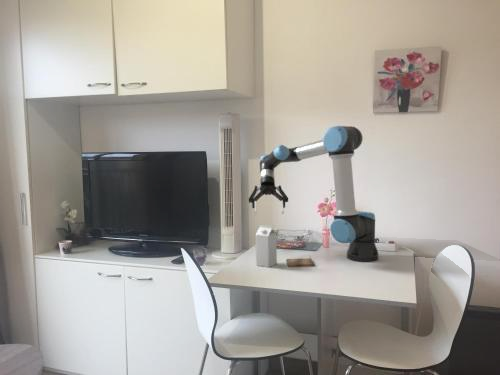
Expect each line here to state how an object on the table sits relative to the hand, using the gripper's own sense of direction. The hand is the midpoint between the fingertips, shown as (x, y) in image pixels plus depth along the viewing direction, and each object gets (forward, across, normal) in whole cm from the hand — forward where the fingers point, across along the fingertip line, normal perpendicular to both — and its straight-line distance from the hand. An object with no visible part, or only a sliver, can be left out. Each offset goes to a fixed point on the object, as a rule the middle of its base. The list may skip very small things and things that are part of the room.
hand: (269, 212), depth 209 cm
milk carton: (+25, +2, -7) cm, 26 cm away
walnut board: (+25, -14, -7) cm, 29 cm away
